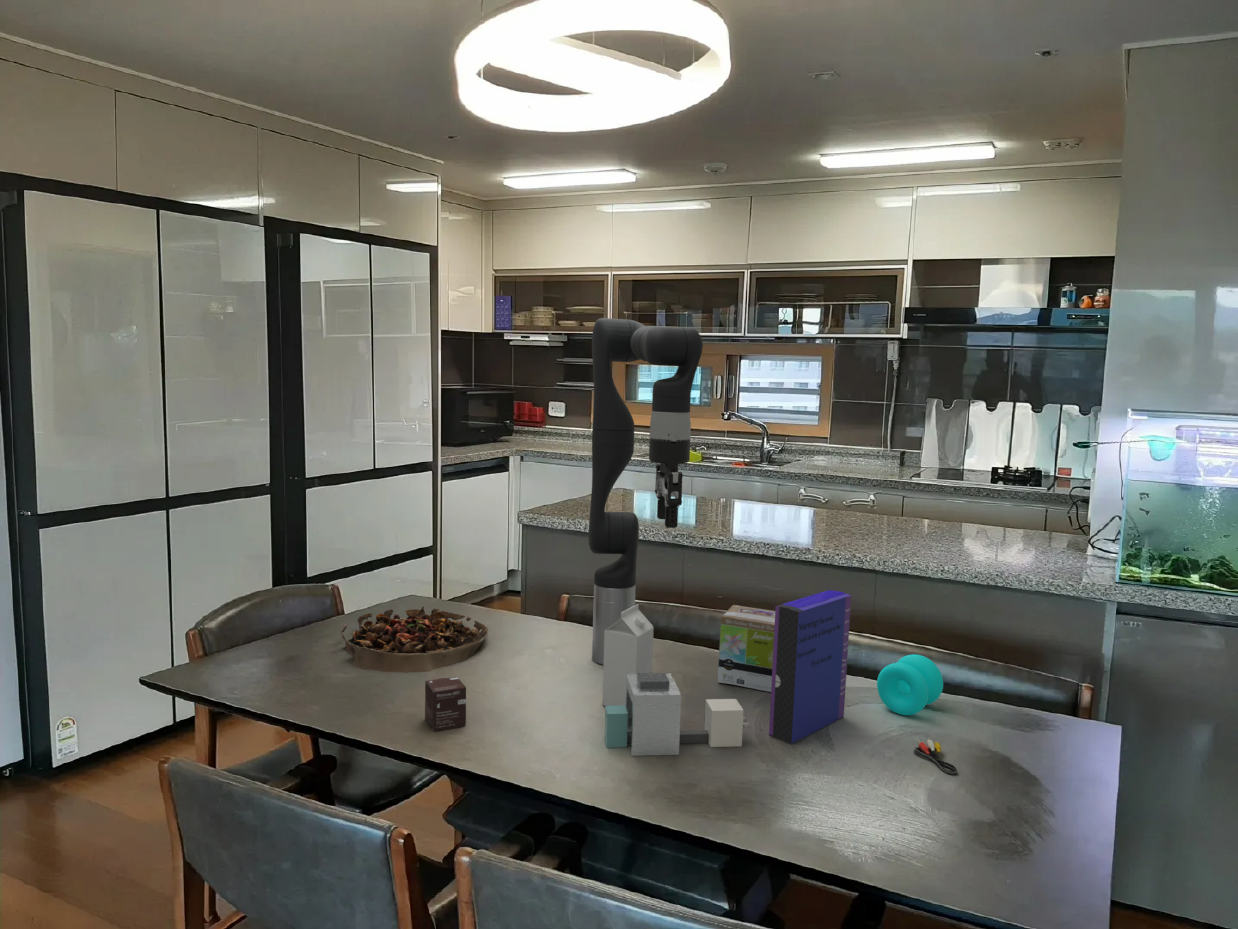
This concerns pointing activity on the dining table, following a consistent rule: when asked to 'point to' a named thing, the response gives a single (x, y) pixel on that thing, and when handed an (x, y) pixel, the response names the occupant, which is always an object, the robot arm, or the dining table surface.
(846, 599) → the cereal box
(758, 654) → the tea box
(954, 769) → the composite cable
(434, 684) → the box
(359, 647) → the potpourri bowl
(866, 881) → the dining table surface
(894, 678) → the turquoise yo-yo
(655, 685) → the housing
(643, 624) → the milk carton
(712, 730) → the plug
